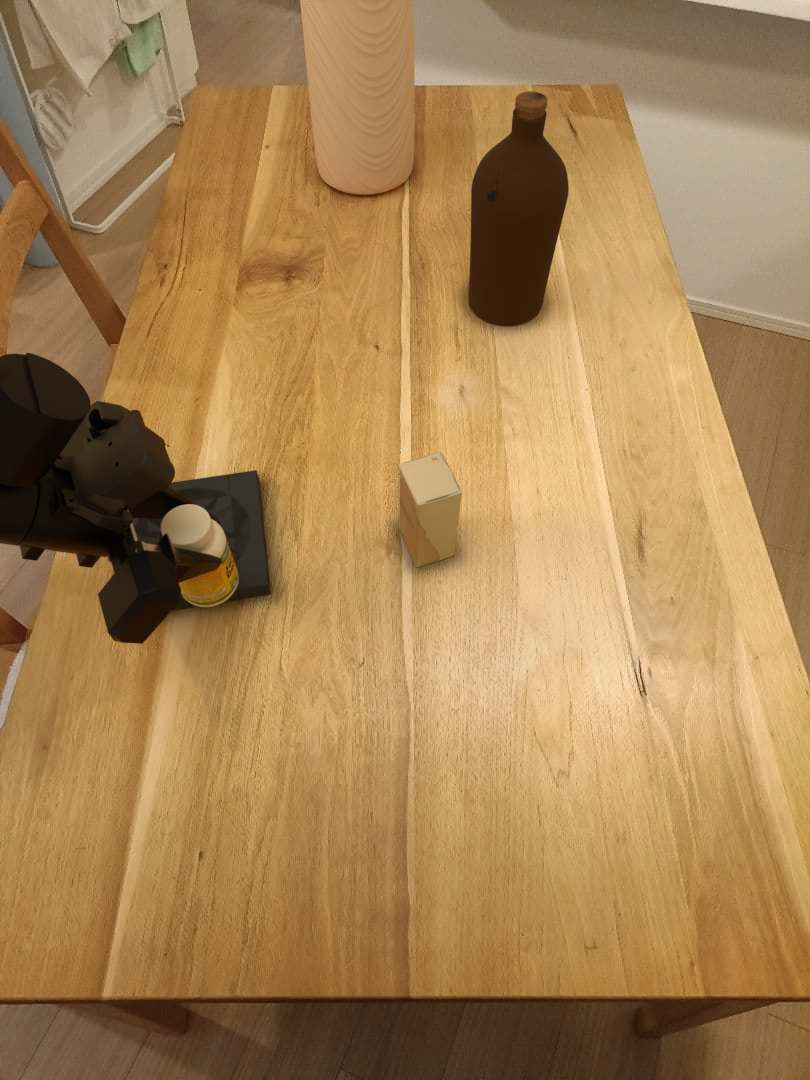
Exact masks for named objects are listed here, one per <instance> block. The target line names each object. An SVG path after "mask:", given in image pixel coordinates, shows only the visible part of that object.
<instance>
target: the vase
mask: <svg viewBox="0 0 810 1080" xmlns="http://www.w3.org/2000/svg"><path fill="white" fill-rule="evenodd" d="M299 2H300V12H301V13H300V14H301V23H302V25H301V26H302V35H303V45H304V55H305V56H304V57H305V66H306V77H307V87H308V96H309V107H310V119H311V129H312V138H313V147H314V154H315V161H316V167H317V171H318V174H319V176H320V178H321V179H322V180H323V181H324V182H325V183H326V184H327V185H329V186H330V187H331V188H333V189H334V190H335V189H336V190H337V191H340V192H343V193H348V194H351V195H358V196H360V195H361V196H367V195H368V196H369V195H377V194H383V193H385V192H389V191H391V190H394V189H396V188H397V187H399V186H400V185H402V184H403V183H405V182H406V180H407V179H408V178H409V177H410V176H411V174H412V172H413V169H414V167H413V166H414V159H415V0H300V1H299Z"/></svg>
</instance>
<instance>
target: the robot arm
mask: <svg viewBox="0 0 810 1080" xmlns="http://www.w3.org/2000/svg"><path fill="white" fill-rule="evenodd" d="M166 446H167V445H166V442H165V439H164V438H163V437H161V436H160V435H159V434H158V433H156V432H155V431H153V430H152V429H150V427H147V426H146V424H145V421H144V418H143V415H142V412H141V411H140V410H139V409H131V410H130V409H128V408H127V407H124V406H123V405H121V404H116V403H111V402H106V401H101V400H96V401H95V402H93V403H92V404H91V398H90V396H89V394H88V392H87V389H85V387H84V386H83V385H82V384H81V382H80V381H79V380H78V379H77V378H76V377H75V376H73V375H72V374H71V373H70V372H69V371H67V370H66V369H65V368H63V367H62V366H61V365H59V364H58V363H55V362H53V361H52V360H50V359H48V358H46V357H43V356H40V355H38V354H35V353H32V352H26V353H25V354H23V353H6V354H3V355H1V356H0V544H1V545H2V544H3V545H8V546H9V545H10V546H15V547H19V548H20V554H21V558H22V560H27V561H34V562H35V561H36V562H37V561H38V560H39V559H40V557H41V556H42V554H43V553H44V552H45V551H50V552H58V553H66V554H72V555H75V556H76V559H77V563H78V566H79V567H82V568H88V569H89V568H91V569H92V568H93V567H94V566H95V565H96V564H97V562H98V561H99V560H100V558H107V562H108V563H111V566H112V570H113V574H112V576H111V577H110V578H109V579H108V580H107V581H106V583H105V584H104V586H103V587H102V588H101V589H100V590H99V592H98V593H97V597H98V601H99V604H100V609H101V613H102V617H103V619H104V623H105V627H106V631H107V633H108V635H109V636H110V638H111V639H112V641H113V642H117V643H122V644H138V645H143V644H144V643H145V642H146V641H147V639H148V638H149V637H150V636H151V635H152V634H153V633H154V632H155V631H156V629H157V628H158V627H159V626H160V625H161V623H162V622H163V621H165V619H166V618H167V617H168V616H169V614H170V613H171V612H172V611H174V610H173V609H174V607H175V606H176V605H177V604H178V603H179V601H180V595H181V588H180V585H179V583H180V582H183V581H186V580H189V579H192V578H194V577H197V576H200V575H203V574H206V573H208V572H211V571H214V570H216V569H217V568H218V567H219V566H220V565H221V564H222V560H221V558H218V557H215V556H212V555H209V554H205V553H200V552H196V551H191V550H186V549H181V548H176V547H174V546H173V544H172V542H171V540H170V538H169V536H168V534H167V533H165V534H164V536H163V537H162V538H161V539H160V541H159V542H158V543H157V544H156V545H155V544H149V543H145V542H144V541H138V539H137V536H136V532H135V529H134V526H133V523H132V522H133V518H148V519H163V518H164V517H165V515H166V514H167V513H168V512H169V511H170V510H172V509H173V508H175V507H178V506H181V505H186V504H193V505H197V504H196V503H194V502H193V501H191V500H189V499H188V498H186V497H185V496H183V495H181V494H180V493H178V492H177V491H175V490H174V489H172V488H170V487H169V485H170V484H171V483H172V482H174V479H175V476H176V469H175V465H174V464H173V463H172V461H171V459H170V456H169V453H168V450H167V448H166ZM198 506H199V505H198Z"/></svg>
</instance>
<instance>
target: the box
mask: <svg viewBox="0 0 810 1080" xmlns="http://www.w3.org/2000/svg"><path fill="white" fill-rule="evenodd" d="M398 473H399V474H398V478H399V479H398V480H399V481H398V482H399V485H398V489H399V490H398V493H399V494H398V509H399V510H398V513H399V514H398V530H399V533H400V535H401V538H402V540H403V542H404V544H405V547H406V550H407V551H408V554H409V556H410V558H411V560H412V562H413V565H414V566H415V567H416V568H419V567H424V566H426V565H429V564H432V563H436V562H439V561H442V560H445V559H448V558H451V557H453V556H455V551H456V543H457V535H458V529H459V528H458V527H459V519H460V511H461V503H462V494H463V490H462V488H461V486H460V484H459V481H458V480H457V478H456V476H455V474H454V472H453V470H452V468H451V467H450V464H449V462H448V461H447V459H446V457H445V455H444V453H443V452H442V451H437V452H433V453H429V454H426V455H422V456H419V457H417V458H413V459H411V460H408V461H404V462H401V463H399V465H398Z"/></svg>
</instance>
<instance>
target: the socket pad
mask: <svg viewBox="0 0 810 1080" xmlns="http://www.w3.org/2000/svg"><path fill="white" fill-rule="evenodd" d="M169 487H170V488H172V489H174V490H175V491H177V492H178V493H180V494H181V495H183V496H185V497H186V498H188V499H189V500H191V501H193V502H194V503H196V504H197V505H199V506H200V507H202V508H204V509H205V510H206V511H207V512H208V514H209V516H210V518H211V519H212V520H214V521H216V522H217V523H218V524H219V525H220V526H221V527H222V529H223V531H224V533H225V536H226V539H227V542H228V545H229V548H230V551H231V553H232V556H233V559H234V562H235V565H236V568H237V572H238V579H239V580H238V585H237V587H236V590H235V591H234V593H233V594H232V595H231V596H230V597H229V598H228V599H227V600H226V601H225V602H233V601H238V600H239V601H240V600H244V599H250V598H255V597H262V596H268V595H271V594H272V590H271V581H270V570H269V560H268V552H267V551H268V550H267V540H266V531H265V520H264V512H263V500H262V492H261V482H260V478H259V474H258V471H257V470H255V469H254V470H248V471H242V472H234V473H228V474H221V475H215V476H214V475H213V476H207V477H200V478H191V479H187V480H180V481H172V483H171V484H170V485H169ZM162 520H163V519H148V518H133V522H132V523H133V526H134V529H135V532H136V536H137V539H138V541H144V542H145V543H149V544H155V545H156V544H157V543H158V542H159V541H160V539H161V538H162V537H163V536H162V533H161V523H162ZM225 602H224V603H225ZM195 607H197V606H196V605H193V604H191V603H190V602H188V601H187V600H186V599H185V598H184V597H183V596H182V594H181V595H180V601H179V603H178V604H177V605H176V606H175V607H174V609H173V610H172V611H177V610H182V609H183V610H184V609H190V608H195Z"/></svg>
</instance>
